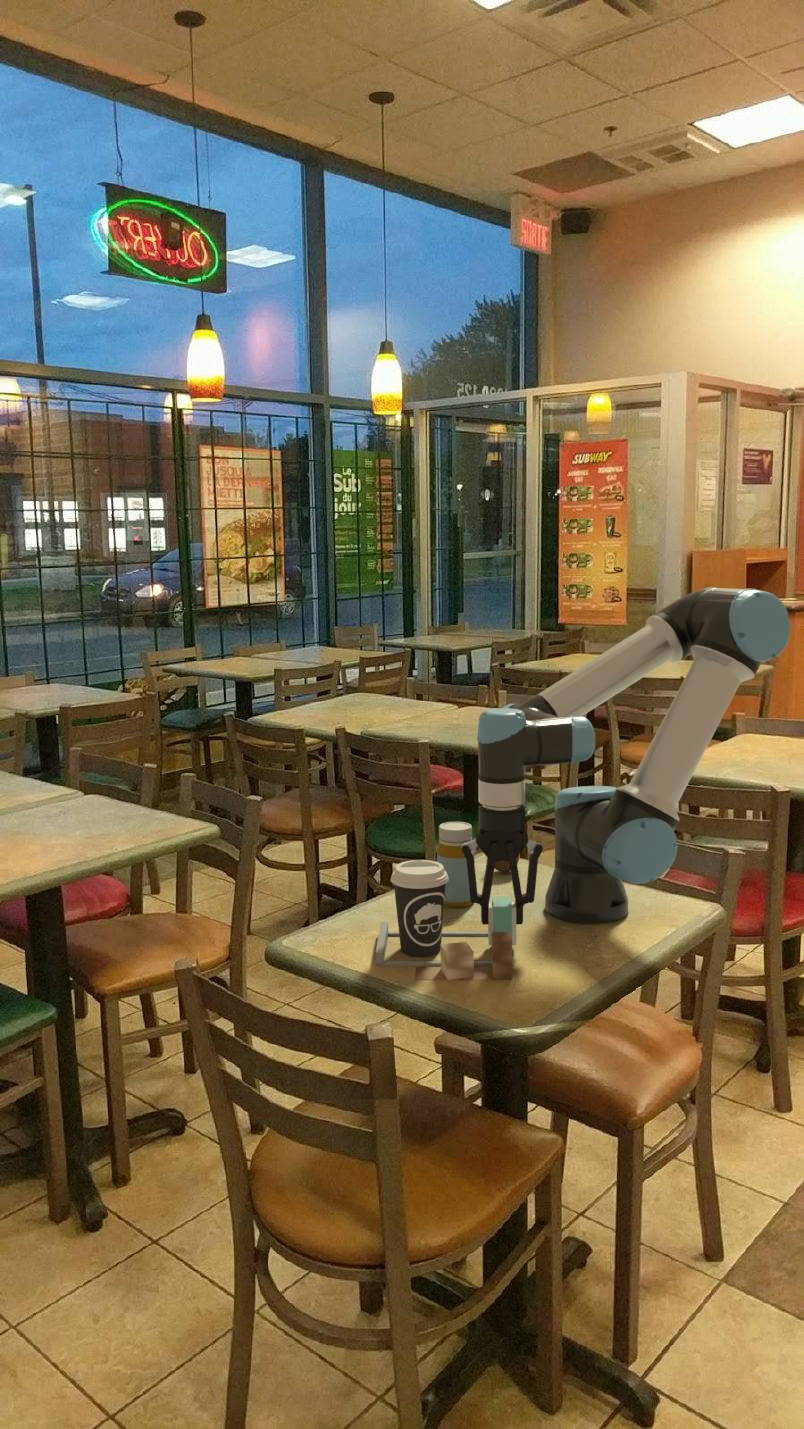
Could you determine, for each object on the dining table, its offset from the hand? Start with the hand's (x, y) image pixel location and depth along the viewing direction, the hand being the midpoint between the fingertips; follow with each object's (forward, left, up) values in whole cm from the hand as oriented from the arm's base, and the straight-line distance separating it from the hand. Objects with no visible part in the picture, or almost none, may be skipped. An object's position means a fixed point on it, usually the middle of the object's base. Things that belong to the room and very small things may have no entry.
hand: (502, 942), depth 174 cm
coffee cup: (+13, 0, -2) cm, 14 cm away
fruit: (-3, -43, -2) cm, 43 cm away
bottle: (+7, -25, -2) cm, 26 cm away
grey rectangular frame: (+9, 0, -2) cm, 10 cm away
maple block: (+7, +10, -1) cm, 12 cm away
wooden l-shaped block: (+6, +10, -2) cm, 12 cm away
